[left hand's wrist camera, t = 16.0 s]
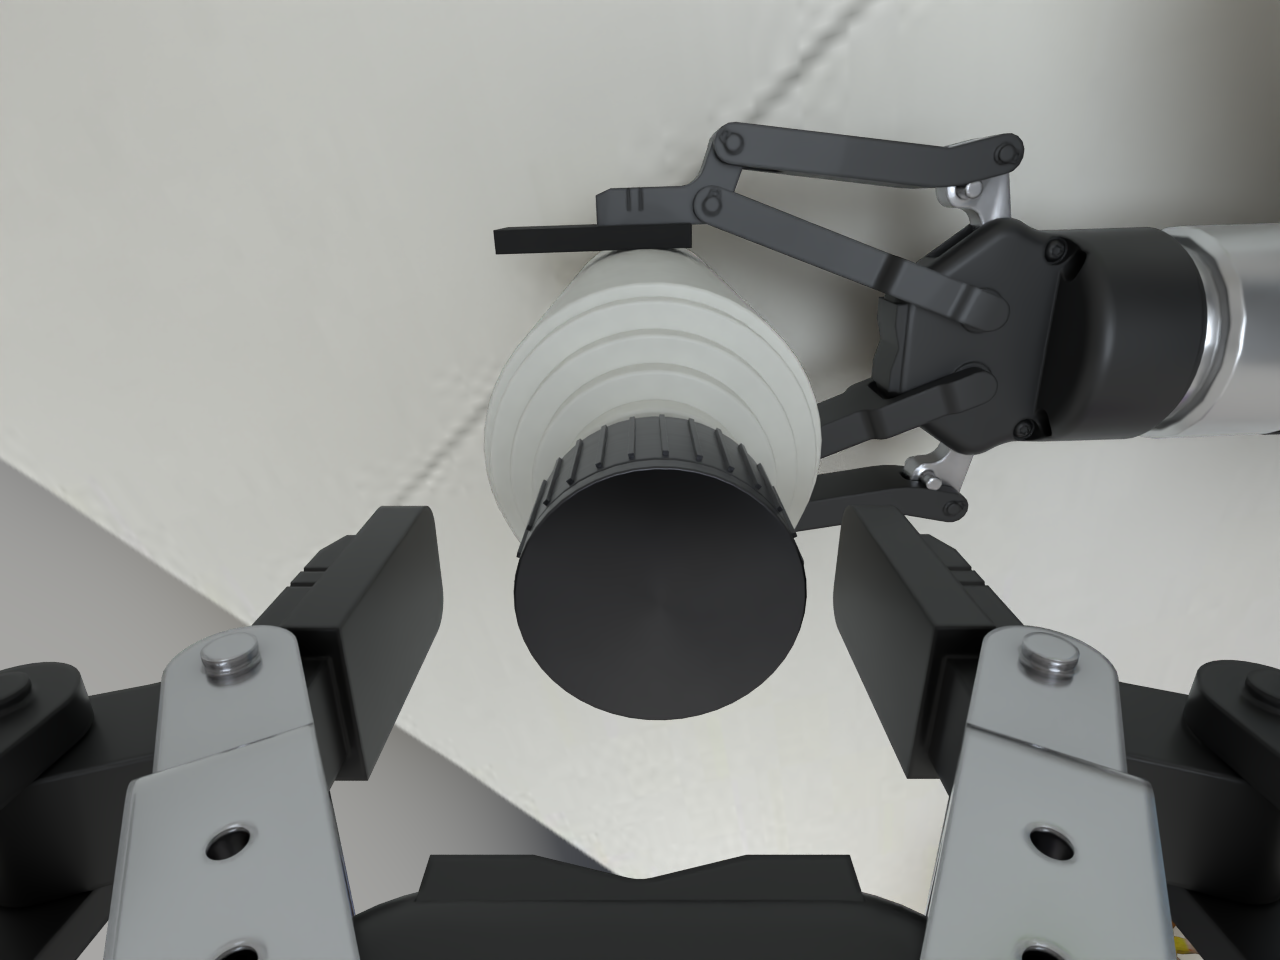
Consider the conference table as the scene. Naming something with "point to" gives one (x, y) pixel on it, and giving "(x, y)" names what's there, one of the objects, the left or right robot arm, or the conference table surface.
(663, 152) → the conference table surface
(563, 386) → the bottle
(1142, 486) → the conference table surface
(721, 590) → the cap
